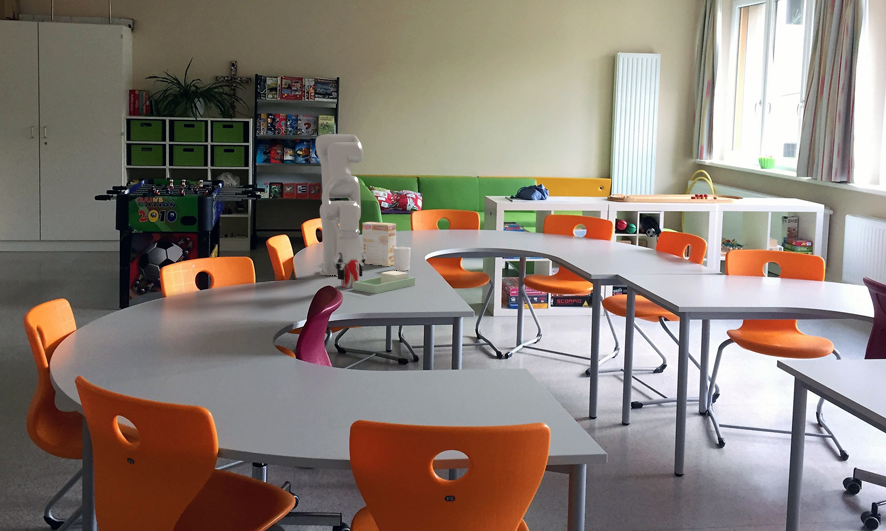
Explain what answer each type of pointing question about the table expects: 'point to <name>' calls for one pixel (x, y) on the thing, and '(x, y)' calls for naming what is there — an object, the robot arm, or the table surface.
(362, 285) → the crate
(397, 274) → the cream square tile
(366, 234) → the coffeecake box
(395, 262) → the white cup
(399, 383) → the table surface
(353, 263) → the soda can
